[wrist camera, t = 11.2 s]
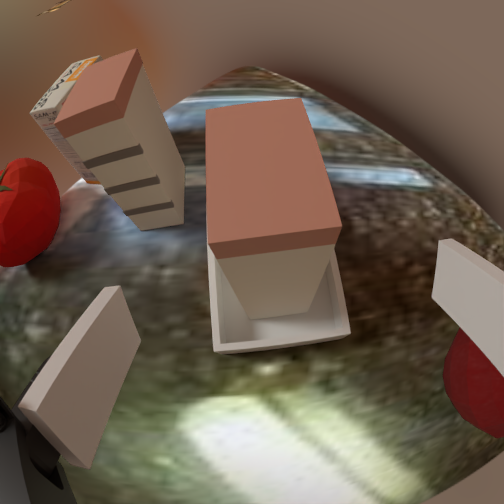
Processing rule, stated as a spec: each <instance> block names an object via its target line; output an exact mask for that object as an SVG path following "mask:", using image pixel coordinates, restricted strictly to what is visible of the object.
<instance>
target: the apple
mask: <svg viewBox="0 0 504 504" xmlns="http://www.w3.org/2000/svg"><path fill="white" fill-rule="evenodd" d="M443 380H444V385H445V390H446V393H447V395H448V397H449V398H450V400H451V402H452V403H453V405H454V406H455V408H456V409H457V411H458V412H459V414H460V415H461V416H462V418H463V419H465V420H466V421H468V422H469V423H471V424H472V425H474V426H475V427H477V428H479V429H481V430H482V431H484V432H486V433H488V434H490V435H491V436H493V437H495V438H501V437H504V377H503V375H502V374H501V373H500V372H499V371H498V369H497V368H496V367H495V366H494V365H493V363H492V362H491V361H490V360H489V359H488V358H487V356H486V355H485V354H484V353H483V352H482V351H481V349H480V348H479V347H478V346H477V345H476V344H475V343H474V342H473V340H472V339H471V338H470V337H469V336H468V335H467V334H466V333H465V332H464V331H463V330H462V328H461V327H460V328H459V330H458V332H457V334H456V336H455V338H454V340H453V343H452V345H451V347H450V349H449V351H448V354H447V356H446V358H445V364H444V371H443Z"/></svg>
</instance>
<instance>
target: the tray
mask: <svg viewBox="0 0 504 504" xmlns="http://www.w3.org/2000/svg"><path fill="white" fill-rule="evenodd" d="M206 221H207V203H206ZM207 249H208V270H209V289H210V306H211V321H212V335H213V348H214V352H217V353H220V354H233V353H243V352H253V351H262V350H271V349H279V348H286V347H294V346H301V345H307V344H314V343H320V342H326V341H332V340H338V339H342V338H344V337H346V336H347V335H349V334H351V331H350V325H349V319H348V314H347V308H346V303H345V298H344V292H343V287H342V282H341V277H340V273H339V268H338V263H337V259H336V254H335V250H334V249H333V252H332V254H331V257H330V259H329V262H328V264H327V267H326V269H325V272H324V274H323V277H322V279H321V282H320V284H319V286H318V289H317V291H316V294H315V296H314V298H313V301H312V303H311V305H310V308H309V310H308V312H306V313H299V314H292V315H285V316H277V317H269V318H261V319H253V320H250V319H249V317H248V316H247V314H246V312H245V310H244V309H243V307H242V305H241V303H240V301H239V300H238V298H237V296H236V294H235V293H234V291H233V289H232V287H231V285H230V283H229V282H228V280H227V278H226V276H225V274H224V273H223V271H222V269H221V267H220V265H219V263H218V262H217V260H216V258H215V256H214V254H213V252H212V250H211V249H210V247H209V245H208V234H207Z"/></svg>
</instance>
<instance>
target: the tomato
mask: <svg viewBox="0 0 504 504" xmlns="http://www.w3.org/2000/svg"><path fill="white" fill-rule="evenodd" d="M60 211H61V209H60V196H59V190H58V188H57V185H56V183H55V181H54V178H53V176H52V174H51V172H50V171H49V169H48V168H47V167H46V166H45V165H44V164H42V163H41V162H39V161H35V160H33V159H30V158H19V159H16V160H14V161H12V162H11V163H9V164H7V166H6V168H5V169H4V170H2V171H0V265H1V266H3V267H14V266H19V265H23V264H25V263H27V262H28V261H30V260H31V259H33V258H34V257H36V256H37V255H38V254H40V253H41V252H42V251H44V250H45V249H47V248H48V246H49V244H50V243H51V241H52V239H53V237H54V235H55V233H56V230H57V228H58V226H59V219H60Z"/></svg>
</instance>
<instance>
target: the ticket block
mask: <svg viewBox="0 0 504 504" xmlns="http://www.w3.org/2000/svg"><path fill="white" fill-rule="evenodd" d="M54 125H55V127H56V128H57V129H58V131H59V132H60V133H61V135H62V136H63V137H64V139H65V138H66V140H67V141H68V142H69V144H70V145H71V146H72V148H73V149H74V150H75V151H76V153H77V154H78V155H79V157H80V158H81V159H82V160H83V162H82V163H83V164H84V165H85V167H86V168H87V169H90V171H91V172H92V173H93V174H94V176H95V177H96V178H97V179H98V181H99V182H100V183H101V184H102V186H103V187H104V190H105V191H106V192H107V194H108V195H111V196H112V198H113V199H114V200H115V201H116V202H117V204H118V205H119V206H120V207H121V208H122V210H123V213H124V214H125V215H126V216H128V217H129V218H130V219H131V220H132V221H133V222H134V224H135V225H136V226H137V227H138V228H139V229H140V230H141V231H143V230H149V229H155V228H161V227H167V226H174V225H180V224H184V190H185V166H184V163H183V161H182V159H181V156H180V154H179V152H178V149H177V147H176V145H175V142H174V140H173V137H172V135H171V133H170V130H169V128H168V126H167V123H166V121H165V118H164V116H163V114H162V111H161V109H160V106H159V104H158V101H157V99H156V97H155V94H154V92H153V89H152V87H151V84H150V82H149V79H148V77H147V74H146V72H145V69H144V67H143V62H142V60H141V57H140V54H139V52H138V49H137V48H136V49H133V50H130V51H127V52H124V53H121V54H119V55H116V56H113V57H110V58H108V59H105V60H102V61H100V62H97V63H95V64H93V65H90V66H88V67H86V68H85V69H84V71H83V72H82V74H81V75H80V77H79V79H78V80H77V82H76V83H75V85H74V87H73V89H72V90H71V92H70V94H69V96H68V97H67V99H66V101H65V103H64V105H63V106H62V108H61V110H60V112H59V114H58V116H57V118H56V120H55V122H54Z"/></svg>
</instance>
